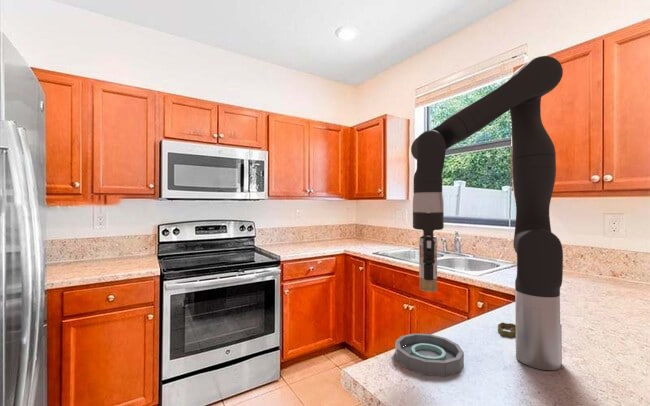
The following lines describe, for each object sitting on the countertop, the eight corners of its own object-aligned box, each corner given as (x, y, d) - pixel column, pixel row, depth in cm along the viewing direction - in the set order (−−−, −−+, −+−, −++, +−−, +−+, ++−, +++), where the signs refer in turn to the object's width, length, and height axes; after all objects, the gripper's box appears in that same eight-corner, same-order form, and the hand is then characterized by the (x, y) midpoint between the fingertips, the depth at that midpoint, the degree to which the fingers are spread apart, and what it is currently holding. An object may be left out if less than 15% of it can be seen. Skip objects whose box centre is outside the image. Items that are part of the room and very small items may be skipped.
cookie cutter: (533, 348, 85) (533, 341, 85) (490, 333, 95) (490, 327, 95) (560, 334, 95) (560, 327, 95) (519, 321, 105) (519, 315, 105)
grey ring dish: (430, 340, 89) (430, 330, 89) (477, 367, 74) (477, 354, 74) (383, 350, 83) (383, 339, 83) (425, 381, 68) (425, 368, 68)
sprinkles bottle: (423, 286, 82) (423, 236, 82) (440, 290, 79) (440, 237, 79) (415, 290, 79) (415, 237, 79) (433, 293, 75) (432, 238, 76)
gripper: (413, 210, 87) (413, 271, 87) (412, 211, 73) (412, 283, 73) (441, 210, 85) (441, 272, 84) (446, 211, 71) (446, 285, 71)
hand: (428, 277), depth 79 cm, fingers closed on sprinkles bottle, 4 cm apart
